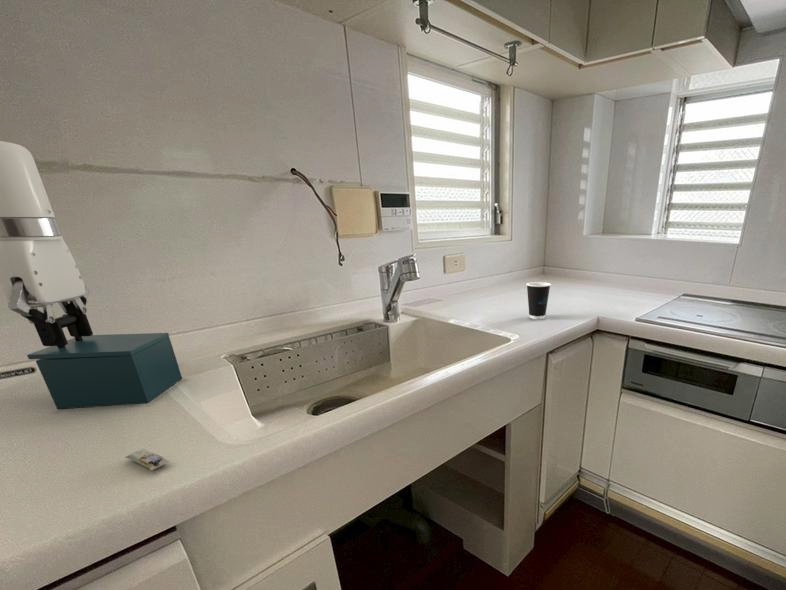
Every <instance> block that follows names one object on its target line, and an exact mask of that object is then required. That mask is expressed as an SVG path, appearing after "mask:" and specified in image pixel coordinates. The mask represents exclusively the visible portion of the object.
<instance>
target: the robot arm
mask: <svg viewBox="0 0 786 590" xmlns="http://www.w3.org/2000/svg"><path fill="white" fill-rule="evenodd" d="M46 191H47V190H46V189H45V186H44V183H43V179H42V178H41V175H40V172H39V170H38V167H37V164H36V161H35V159H34V157H33V154H32V153H31V151H30V150H28V149H27V148H26V147H25V146H22V145H21V144H18V143H14V142H10V141H9V142H8V141H3V140H0V287H1V290H2V293H3V295H4V297H5V300H6V301H7V302H8V303H7V307H8V309H9V310H10V311H13V312H15V313H16V314H19V315H20V316H22V317H23V318H25V319H27V321H28V323H29V324H31V325H32V324H33V325H34V328H35V331H36V332H37V335H38V337H39V340H40V342H41V345H42V346H44V347H50V346H64V345H67V344H68V342H67V340H68V339H67V337H66V335H65V332H64V328H62V327H61V324H60V322H55V318H56V317H55V310H54V304H57V303H58V305H59V307H60V309H62V311H63V312H64V313H65V314H62V315H61V316H65V315H68V314H75V315H77V316H78V317H79V319H80V321H79V323H77V326H78V328H79V331H80V334H81V336H91V335H94V332H93V330H92V326H91V324H90V322H89V319H88V317H87V313H88V309H87V307H86V305H87V303H88V302H87V301H88V300H87V299H88V297H89V295H90V289H89V288H87V286H85V283H84V281H83V280H84V279H83V277H82V275H81V272H80V270H79V267H78V266H77V265H78V264H77V263H76V261H75V259H74V257H73V255H72V253H71V251H70V249H69V247H68V245H67V244H66V242H65V240H64V236H63V235H62V232H61V229H60V227H59V224H58V221H57V218H56V216H55V213H54V210H53V207H52V205H51V203H50V199H49V197H48V194H47V192H46ZM39 308H40V309H42V311H41V310H39ZM66 330H67V331H68V333H69V336H70V337H72V338H74V335H73V332H72V330H71V327H70V326H67V327H66Z"/></svg>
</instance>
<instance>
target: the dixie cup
mask: <svg viewBox="0 0 786 590" xmlns="http://www.w3.org/2000/svg"><path fill="white" fill-rule="evenodd" d="M525 284H526V290H527V292H526V293H527V303H528V314H529V318H530V319H532V320H544V319H545V316H546V314H547V308H548V302H549V294H550V289H551V286H552V283H550V282H545V281H532V282H531V281H529V282H526V283H525Z"/></svg>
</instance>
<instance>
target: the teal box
mask: <svg viewBox="0 0 786 590" xmlns="http://www.w3.org/2000/svg"><path fill="white" fill-rule="evenodd" d="M35 363H36V365H37V367H38V369H39V372H40V374H41V377H42V378H43V381H44V383H45V385H46V387H47V390H48V392H49V394H50V397H51V399H52V402H53V403H54V405H55V408H56V409H57V410H65V409H67V410H68V409H78V408H79V409H80V408H94V407H108V406H110V407H111V406H122V405H123V406H124V405H136V404H137V405H138V404H148V403H150V402H152V401H153V400H154V399H156V398H157V397H159V396H160V395H161V394H162V393H164V392H165V391H167V390H169V389H170V388H171V387H172V386H174V385H175V384H177V383H179V382H180V381H182V379H183V376H182V373H181V369H180V367H179V363H178V360H177V357H176V354H175V351H174V347H173V343H172V341H171V338H170V336H169V337H168V338H166V339H164V340H161V341H159V342H157V343H155V344H153V345H151V346H149V347H147V348H145V349H143V350H141V351H139V352H137V353H135V354H133V355H130V356H104V357H79V358H53V359H36V360H35Z"/></svg>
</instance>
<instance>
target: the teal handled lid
mask: <svg viewBox="0 0 786 590" xmlns="http://www.w3.org/2000/svg"><path fill="white" fill-rule="evenodd" d="M79 321H80V319H79V317H78V316H77V315H75V314H68V315H65V316H62V315H61V316H58V317H55V322H60V324H61V327H62V329H64V328H67V326H70V327H71V330H72V332H73V335H74V337H72V338H70V339H67V342H68V344H67V345H64V346H46V347H45V348H42V349H39V350H37V351H34V352H31V353H28V354H26V356H27V359H28V360H39V359H53V358H79V357H104V356H130V355H133V354H135V353H137V352H139V351H141V350H143V349H145V348H147V347H149V346H151V345H153V344H155V343H157V342H159V341H161V340H164V339H166V338H168V337H170V335H169V332H151V333H149V332H148V333H119V334H118V333H115V334H113V333H112V334H93V335H91V336H81V334H80V331H79V328H78V326H77V323H79Z"/></svg>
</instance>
